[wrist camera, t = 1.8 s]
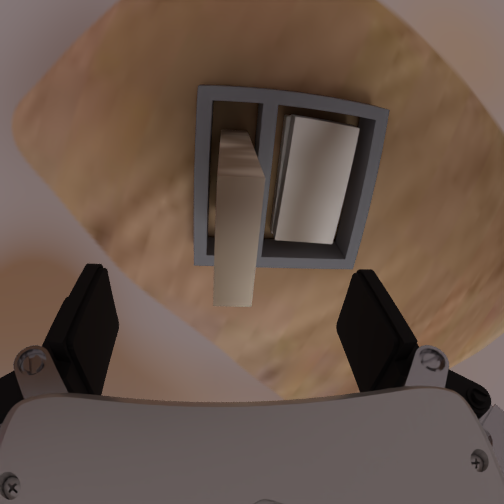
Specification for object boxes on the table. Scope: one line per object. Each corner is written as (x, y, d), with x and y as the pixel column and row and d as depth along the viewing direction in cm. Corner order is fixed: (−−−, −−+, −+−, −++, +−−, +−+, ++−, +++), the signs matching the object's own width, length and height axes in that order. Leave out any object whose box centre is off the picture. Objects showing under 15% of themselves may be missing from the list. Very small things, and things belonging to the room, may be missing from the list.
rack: (372, 105, 23) (389, 110, 20) (342, 251, 30) (352, 269, 27) (201, 84, 21) (198, 85, 19) (196, 246, 28) (194, 265, 26)
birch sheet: (247, 130, 23) (265, 178, 13) (240, 212, 27) (251, 306, 17) (221, 129, 23) (217, 175, 13) (216, 211, 27) (213, 305, 16)
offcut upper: (352, 125, 23) (359, 128, 21) (327, 235, 28) (332, 244, 26) (291, 114, 22) (295, 116, 21) (272, 231, 27) (274, 240, 26)
